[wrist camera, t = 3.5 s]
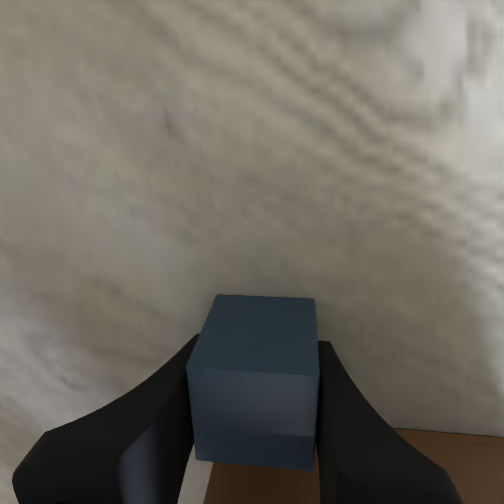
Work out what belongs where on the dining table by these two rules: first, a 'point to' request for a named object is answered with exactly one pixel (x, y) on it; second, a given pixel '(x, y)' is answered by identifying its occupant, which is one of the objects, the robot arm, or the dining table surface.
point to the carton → (428, 443)
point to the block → (256, 383)
